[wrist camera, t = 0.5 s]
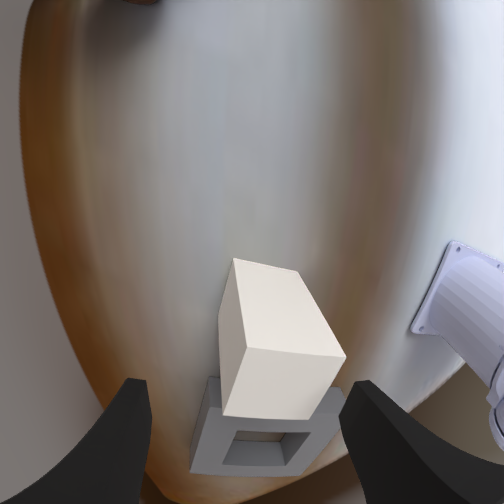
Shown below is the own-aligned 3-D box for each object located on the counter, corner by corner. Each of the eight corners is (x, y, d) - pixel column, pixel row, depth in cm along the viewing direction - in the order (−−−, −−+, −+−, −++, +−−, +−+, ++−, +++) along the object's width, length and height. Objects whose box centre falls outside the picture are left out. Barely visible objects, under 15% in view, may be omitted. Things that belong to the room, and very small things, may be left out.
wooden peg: (297, 271, 18) (346, 357, 11) (277, 325, 19) (308, 419, 12) (233, 258, 17) (247, 346, 10) (218, 315, 19) (222, 415, 11)
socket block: (339, 387, 23) (351, 412, 20) (294, 453, 26) (299, 475, 23) (209, 376, 20) (209, 406, 18) (189, 448, 24) (189, 472, 21)
